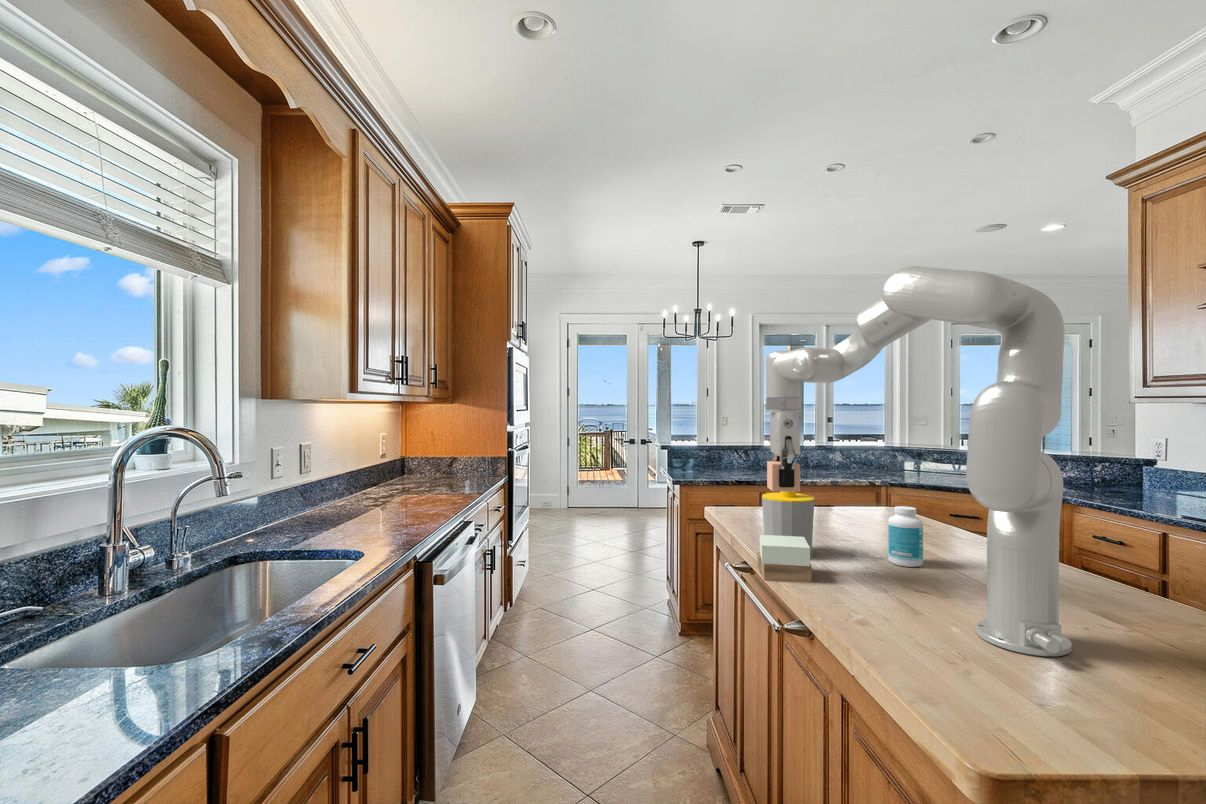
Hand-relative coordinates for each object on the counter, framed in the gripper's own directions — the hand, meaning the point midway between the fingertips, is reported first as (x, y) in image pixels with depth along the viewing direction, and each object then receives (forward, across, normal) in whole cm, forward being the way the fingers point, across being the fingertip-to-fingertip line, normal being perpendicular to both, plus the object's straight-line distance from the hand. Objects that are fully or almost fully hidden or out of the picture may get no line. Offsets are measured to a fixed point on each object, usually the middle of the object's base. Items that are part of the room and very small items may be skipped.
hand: (783, 484), depth 129 cm
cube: (+1, 0, 0) cm, 1 cm away
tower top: (+17, 0, 0) cm, 17 cm away
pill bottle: (+21, +11, -31) cm, 39 cm away
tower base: (+21, 0, 0) cm, 21 cm away
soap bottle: (+21, +18, -5) cm, 28 cm away
